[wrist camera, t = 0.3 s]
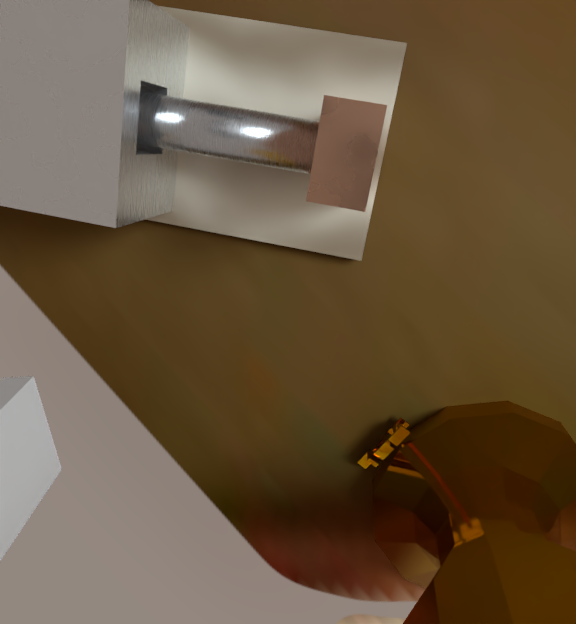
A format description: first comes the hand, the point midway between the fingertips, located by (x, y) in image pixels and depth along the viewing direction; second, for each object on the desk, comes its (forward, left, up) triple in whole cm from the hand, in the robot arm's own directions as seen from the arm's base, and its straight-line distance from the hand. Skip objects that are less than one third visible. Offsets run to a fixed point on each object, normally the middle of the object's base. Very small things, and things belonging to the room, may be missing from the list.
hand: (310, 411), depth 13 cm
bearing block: (-6, -17, -26) cm, 32 cm away
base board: (-6, -11, -27) cm, 30 cm away
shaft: (-6, -8, -26) cm, 27 cm away
